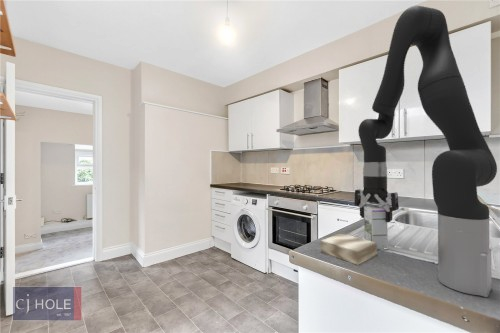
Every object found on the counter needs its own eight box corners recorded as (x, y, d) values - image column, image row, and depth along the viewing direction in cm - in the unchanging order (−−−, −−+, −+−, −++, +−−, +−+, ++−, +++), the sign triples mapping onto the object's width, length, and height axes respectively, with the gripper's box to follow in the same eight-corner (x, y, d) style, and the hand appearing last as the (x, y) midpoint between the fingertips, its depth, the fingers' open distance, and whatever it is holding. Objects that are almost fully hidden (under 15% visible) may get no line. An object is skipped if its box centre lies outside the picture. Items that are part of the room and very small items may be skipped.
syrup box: (388, 249, 79) (388, 208, 79) (371, 249, 79) (371, 208, 79) (379, 243, 85) (379, 205, 84) (363, 243, 85) (363, 205, 84)
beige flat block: (376, 254, 75) (376, 242, 75) (358, 265, 68) (357, 251, 68) (340, 243, 85) (340, 233, 85) (321, 251, 78) (320, 240, 78)
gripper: (401, 175, 78) (401, 221, 78) (360, 173, 89) (361, 214, 90) (392, 176, 73) (392, 225, 74) (350, 174, 85) (350, 217, 85)
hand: (375, 219), depth 82 cm, fingers open, 8 cm apart
